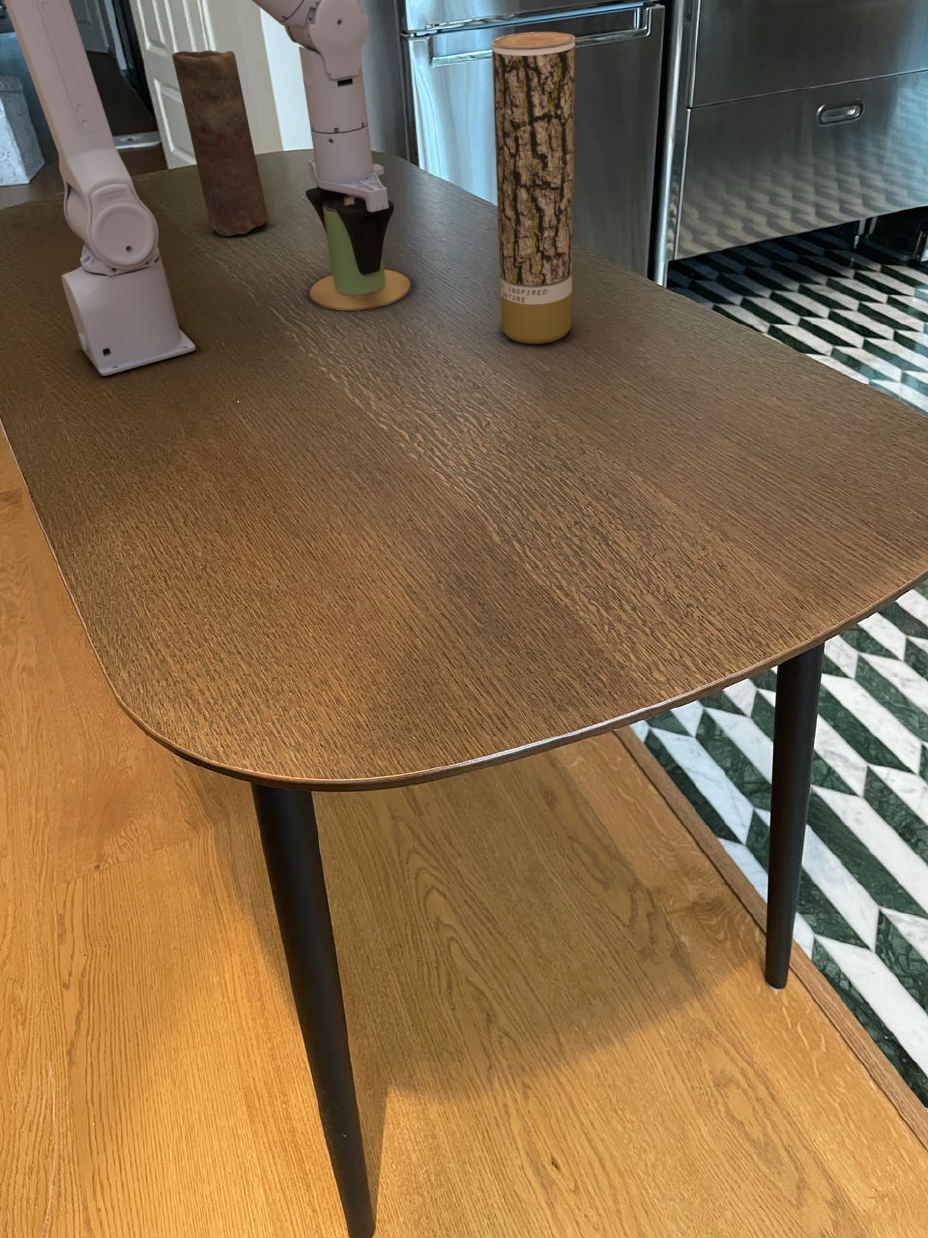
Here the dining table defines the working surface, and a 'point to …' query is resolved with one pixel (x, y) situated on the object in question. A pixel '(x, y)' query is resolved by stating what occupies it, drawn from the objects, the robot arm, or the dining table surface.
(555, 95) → the paper tube
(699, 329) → the dining table surface
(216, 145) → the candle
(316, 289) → the coaster
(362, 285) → the can
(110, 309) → the robot arm
